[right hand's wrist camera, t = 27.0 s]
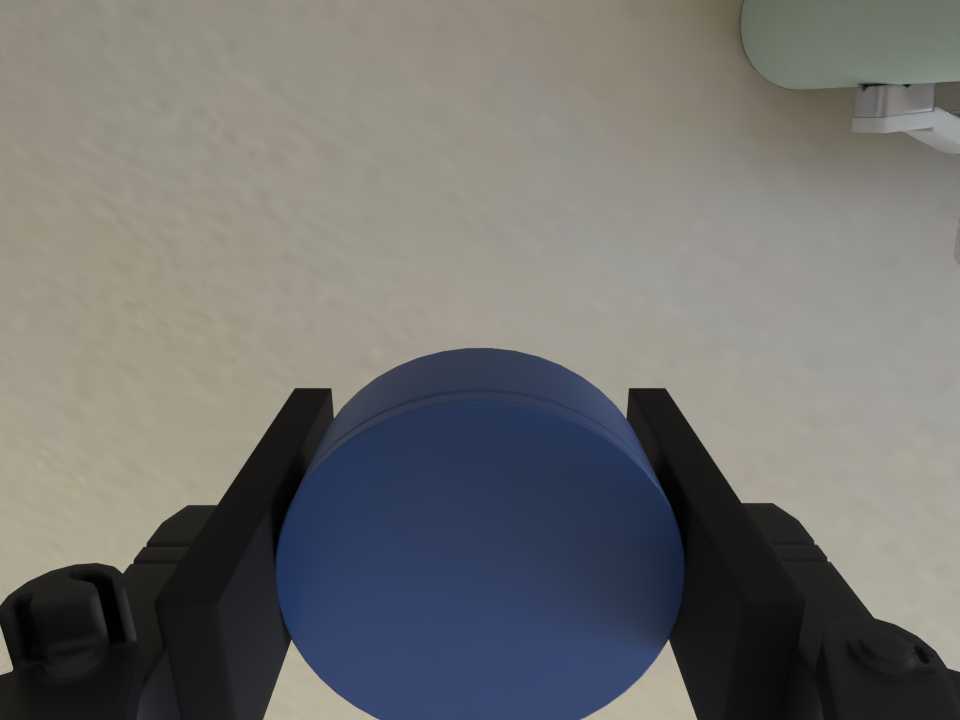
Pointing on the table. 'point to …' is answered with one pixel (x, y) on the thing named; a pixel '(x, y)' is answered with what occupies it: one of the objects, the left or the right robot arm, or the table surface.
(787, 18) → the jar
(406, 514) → the lid
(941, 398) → the table surface
